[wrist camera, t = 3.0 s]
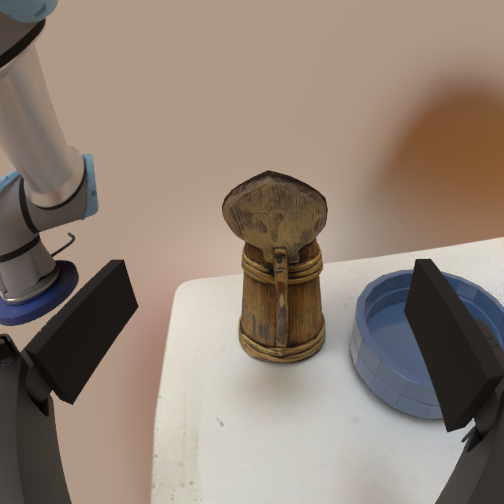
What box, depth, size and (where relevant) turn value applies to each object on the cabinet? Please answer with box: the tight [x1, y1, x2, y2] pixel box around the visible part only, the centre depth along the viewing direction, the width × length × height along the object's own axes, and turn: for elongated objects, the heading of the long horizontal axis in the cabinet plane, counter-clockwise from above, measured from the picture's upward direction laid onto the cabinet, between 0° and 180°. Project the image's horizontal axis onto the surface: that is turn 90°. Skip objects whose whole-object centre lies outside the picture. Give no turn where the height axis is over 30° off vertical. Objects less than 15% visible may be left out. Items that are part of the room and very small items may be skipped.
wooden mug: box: [222, 170, 328, 363], centre depth 23 cm, size 9×14×18 cm, turn 173°
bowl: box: [350, 269, 504, 419], centre depth 22 cm, size 18×18×4 cm
